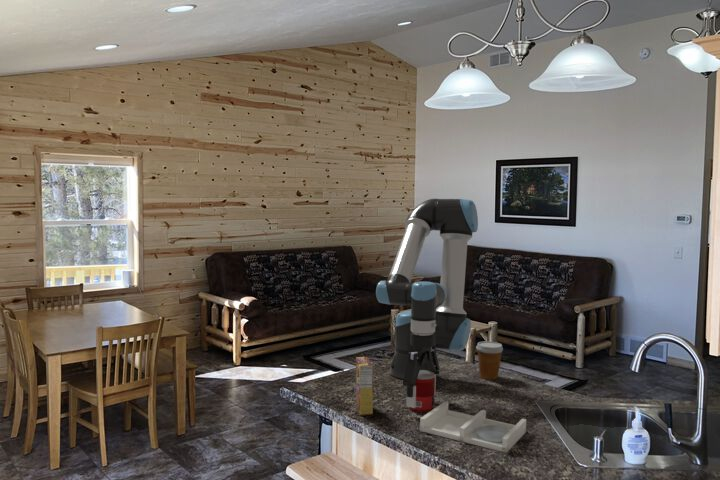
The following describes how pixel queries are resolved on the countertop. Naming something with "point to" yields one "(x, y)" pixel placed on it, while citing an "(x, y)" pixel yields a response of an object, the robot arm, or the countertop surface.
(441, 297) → the robot arm
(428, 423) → the rack
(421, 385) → the canned food
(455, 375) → the countertop surface
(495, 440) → the saucer
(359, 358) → the candy box
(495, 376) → the disposable coffee cup
